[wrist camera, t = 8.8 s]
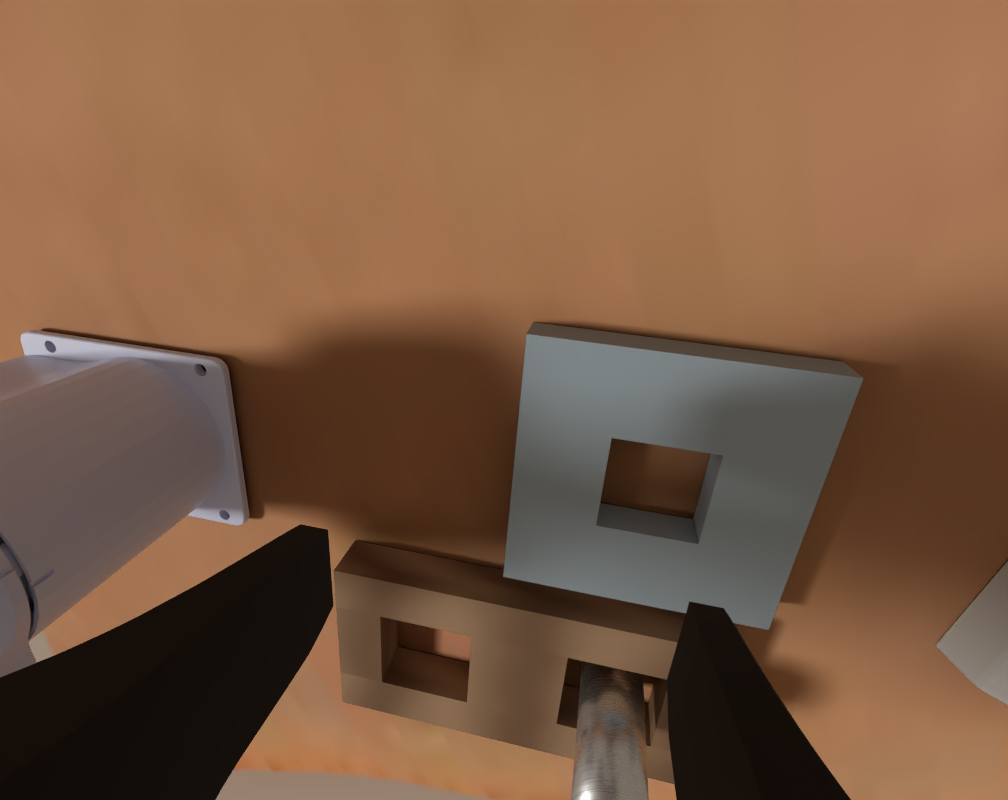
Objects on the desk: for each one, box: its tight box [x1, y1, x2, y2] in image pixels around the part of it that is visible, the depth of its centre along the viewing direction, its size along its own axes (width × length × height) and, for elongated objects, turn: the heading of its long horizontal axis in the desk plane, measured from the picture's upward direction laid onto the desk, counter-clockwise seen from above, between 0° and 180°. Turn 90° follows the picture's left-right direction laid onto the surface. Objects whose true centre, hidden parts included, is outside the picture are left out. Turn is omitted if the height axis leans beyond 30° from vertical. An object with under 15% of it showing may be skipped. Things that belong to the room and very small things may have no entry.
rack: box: [334, 540, 686, 784], centre depth 23 cm, size 16×8×2 cm, turn 85°
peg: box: [571, 661, 649, 800], centre depth 20 cm, size 3×3×7 cm
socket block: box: [503, 322, 864, 630], centre depth 19 cm, size 10×10×2 cm
